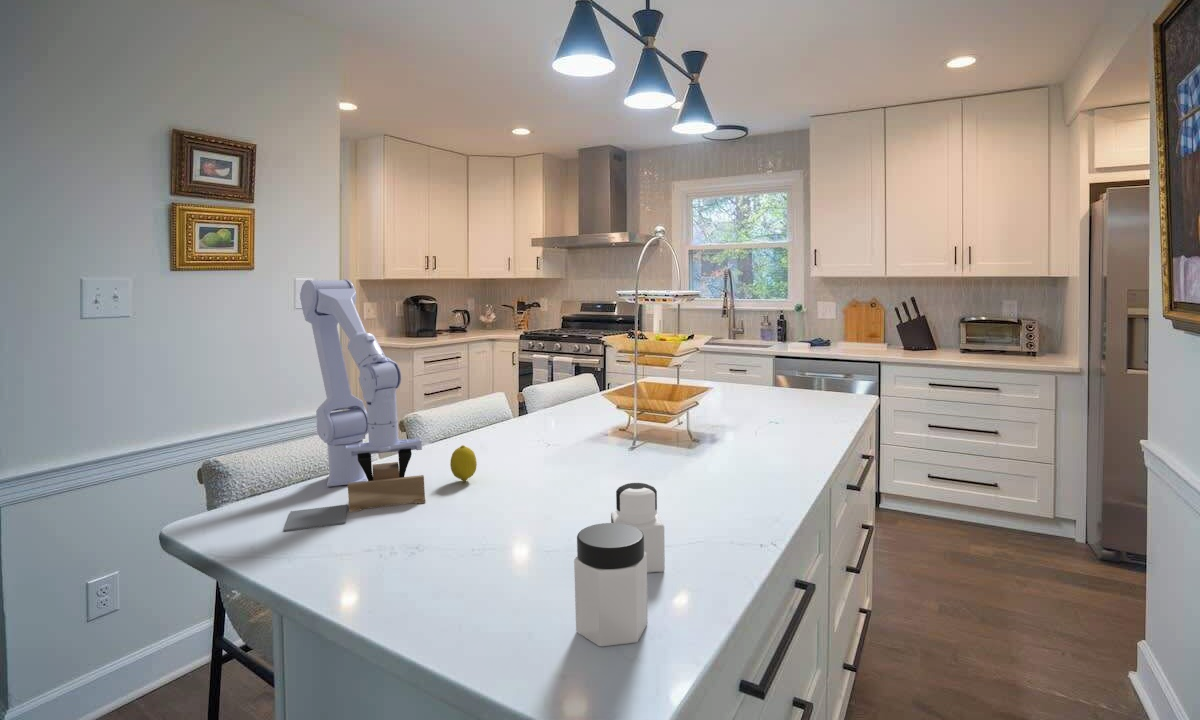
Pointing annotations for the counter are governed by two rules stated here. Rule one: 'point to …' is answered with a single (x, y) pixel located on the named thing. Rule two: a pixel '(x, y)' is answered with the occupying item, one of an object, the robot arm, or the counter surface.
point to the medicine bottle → (642, 520)
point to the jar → (611, 584)
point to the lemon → (463, 463)
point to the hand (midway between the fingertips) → (386, 487)
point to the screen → (386, 492)
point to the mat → (316, 517)
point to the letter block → (385, 471)
